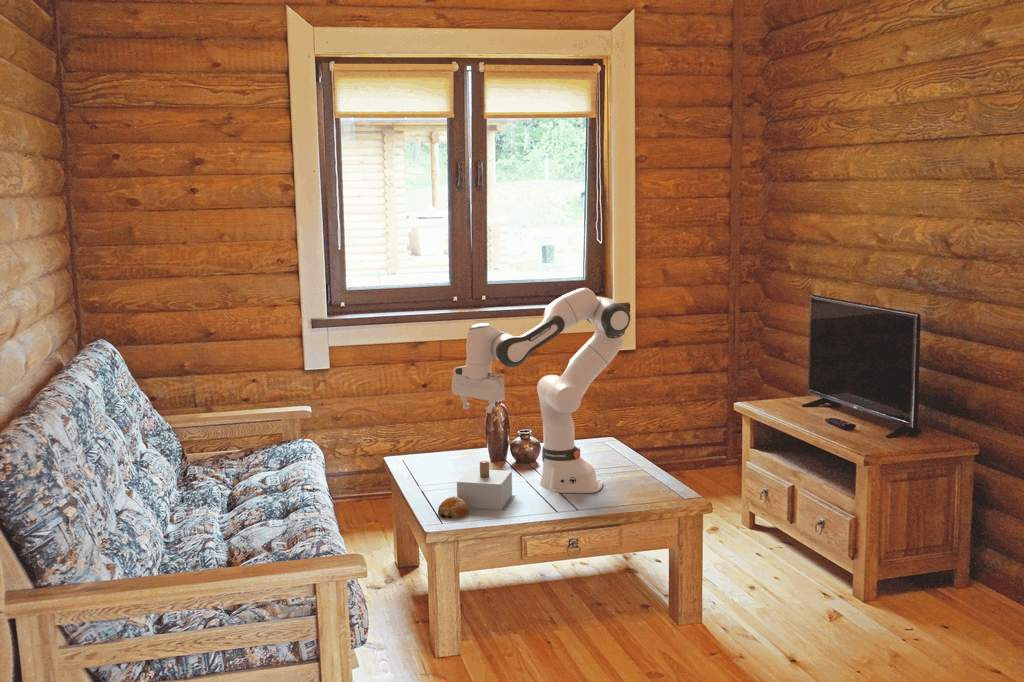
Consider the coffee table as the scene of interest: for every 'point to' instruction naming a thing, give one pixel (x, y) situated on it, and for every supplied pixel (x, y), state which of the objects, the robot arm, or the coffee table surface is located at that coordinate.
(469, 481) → the cover
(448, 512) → the bread roll
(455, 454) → the coffee table surface
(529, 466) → the coffee table surface
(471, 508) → the mat
